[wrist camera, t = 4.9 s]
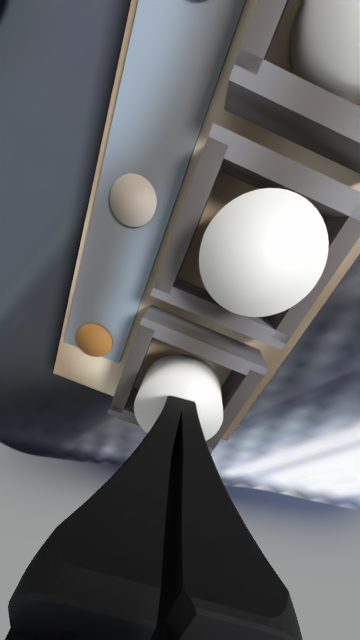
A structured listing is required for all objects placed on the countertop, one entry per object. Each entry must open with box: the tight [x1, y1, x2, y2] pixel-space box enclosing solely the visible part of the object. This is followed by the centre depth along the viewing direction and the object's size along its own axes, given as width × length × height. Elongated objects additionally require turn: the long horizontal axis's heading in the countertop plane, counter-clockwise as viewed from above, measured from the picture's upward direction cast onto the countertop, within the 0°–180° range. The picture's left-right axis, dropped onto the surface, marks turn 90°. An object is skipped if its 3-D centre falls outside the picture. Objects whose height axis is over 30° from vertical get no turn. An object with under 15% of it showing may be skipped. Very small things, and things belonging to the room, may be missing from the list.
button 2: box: [134, 354, 223, 441], centre depth 12 cm, size 4×4×2 cm
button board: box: [53, 0, 360, 453], centre depth 11 cm, size 13×24×4 cm, turn 158°
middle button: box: [199, 188, 329, 317], centre depth 9 cm, size 4×4×2 cm
